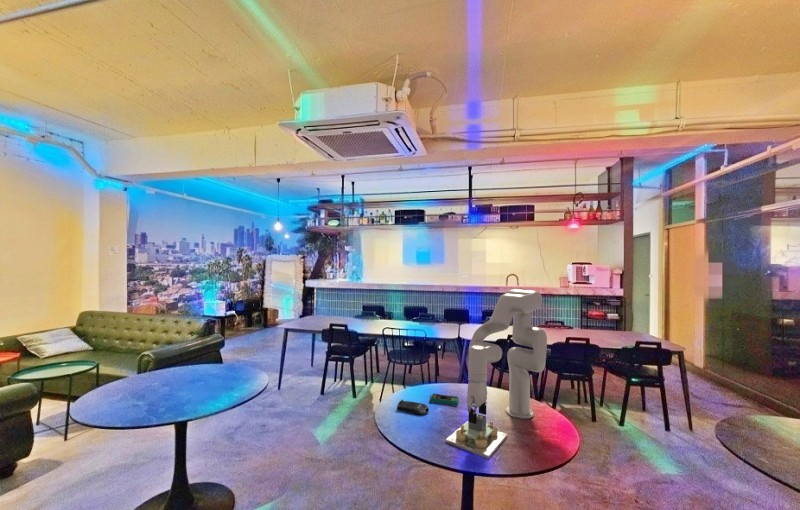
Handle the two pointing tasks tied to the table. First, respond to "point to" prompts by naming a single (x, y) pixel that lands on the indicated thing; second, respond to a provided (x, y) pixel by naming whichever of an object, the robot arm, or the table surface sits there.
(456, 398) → the digital multimeter
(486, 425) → the board
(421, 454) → the table surface
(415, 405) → the electronic device
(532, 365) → the robot arm
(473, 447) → the chassis
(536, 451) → the table surface
